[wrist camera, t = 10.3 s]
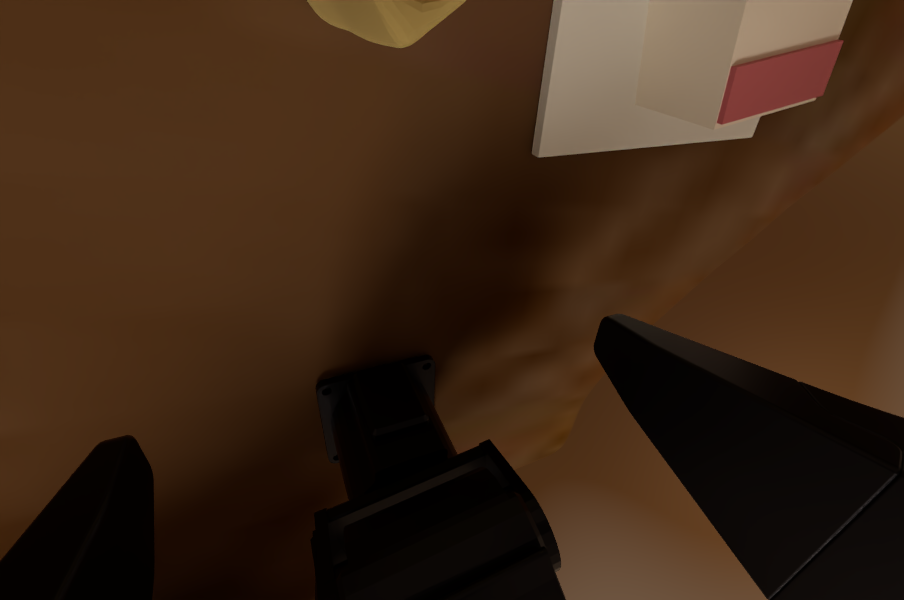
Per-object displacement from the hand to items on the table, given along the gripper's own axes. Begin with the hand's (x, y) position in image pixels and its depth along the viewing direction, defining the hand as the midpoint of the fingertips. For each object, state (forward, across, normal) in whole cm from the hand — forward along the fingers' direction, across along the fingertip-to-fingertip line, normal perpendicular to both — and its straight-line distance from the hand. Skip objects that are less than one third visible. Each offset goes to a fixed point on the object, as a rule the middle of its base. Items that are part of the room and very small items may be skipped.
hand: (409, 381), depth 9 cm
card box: (+11, -17, -7) cm, 21 cm away
